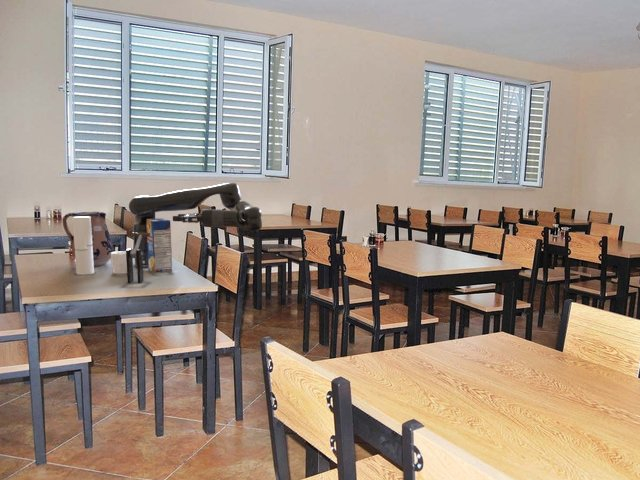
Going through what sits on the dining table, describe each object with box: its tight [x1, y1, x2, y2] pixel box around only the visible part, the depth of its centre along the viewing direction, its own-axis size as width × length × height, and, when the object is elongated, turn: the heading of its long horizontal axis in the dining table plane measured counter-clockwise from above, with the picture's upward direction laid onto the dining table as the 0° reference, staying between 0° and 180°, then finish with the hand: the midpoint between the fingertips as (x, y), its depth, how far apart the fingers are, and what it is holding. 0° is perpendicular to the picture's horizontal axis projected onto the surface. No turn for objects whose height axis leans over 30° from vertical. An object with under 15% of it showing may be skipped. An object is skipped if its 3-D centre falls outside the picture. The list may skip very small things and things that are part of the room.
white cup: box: [110, 250, 127, 275], centre depth 285 cm, size 8×8×10 cm
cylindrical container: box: [72, 216, 95, 276], centre depth 286 cm, size 7×7×25 cm
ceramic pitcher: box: [62, 211, 114, 267], centre depth 306 cm, size 18×21×25 cm
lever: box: [130, 232, 150, 259], centre depth 267 cm, size 14×7×2 cm
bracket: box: [125, 248, 145, 284], centre depth 264 cm, size 10×8×15 cm
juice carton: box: [146, 217, 173, 274], centre depth 290 cm, size 12×8×24 cm, turn 34°
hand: (175, 217), depth 276 cm, fingers open, 8 cm apart
